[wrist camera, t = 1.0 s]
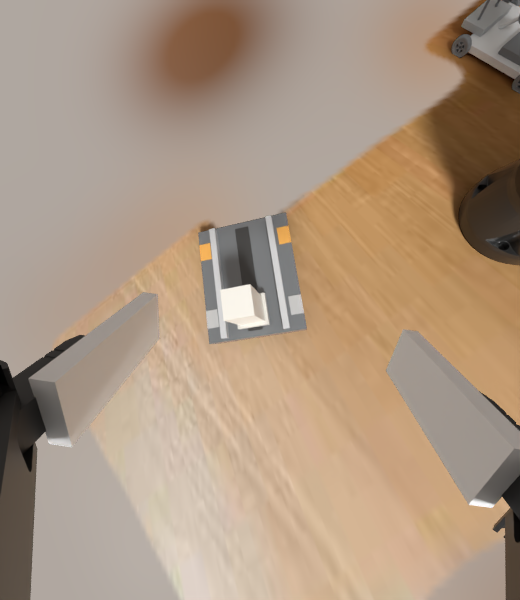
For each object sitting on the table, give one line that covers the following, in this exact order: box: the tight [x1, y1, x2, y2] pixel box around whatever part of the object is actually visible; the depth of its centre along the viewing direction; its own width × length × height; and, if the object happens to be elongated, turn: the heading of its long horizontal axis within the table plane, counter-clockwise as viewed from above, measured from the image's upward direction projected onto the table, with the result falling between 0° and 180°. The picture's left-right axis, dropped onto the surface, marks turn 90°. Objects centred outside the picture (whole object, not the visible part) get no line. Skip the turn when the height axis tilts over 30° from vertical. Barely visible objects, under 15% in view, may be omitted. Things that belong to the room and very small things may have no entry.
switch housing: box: [198, 212, 307, 344], centre depth 42 cm, size 16×20×4 cm
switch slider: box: [220, 284, 270, 329], centre depth 35 cm, size 5×5×9 cm
